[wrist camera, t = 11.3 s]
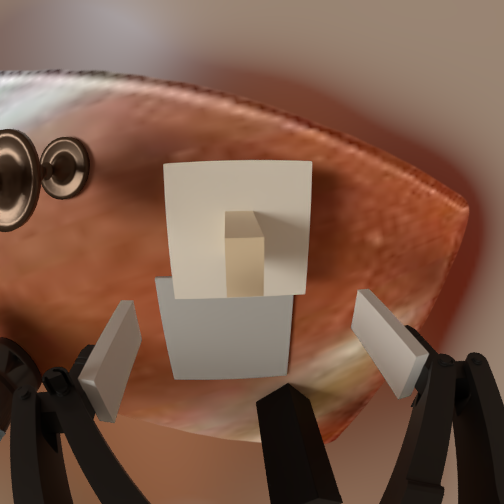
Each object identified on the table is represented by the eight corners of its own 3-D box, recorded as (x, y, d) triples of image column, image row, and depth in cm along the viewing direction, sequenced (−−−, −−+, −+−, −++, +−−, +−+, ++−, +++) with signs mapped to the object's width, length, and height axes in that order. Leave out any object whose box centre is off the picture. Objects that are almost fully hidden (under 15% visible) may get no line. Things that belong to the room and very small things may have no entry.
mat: (174, 377, 47) (174, 379, 46) (155, 276, 40) (154, 278, 39) (286, 373, 48) (286, 375, 48) (293, 272, 42) (294, 273, 41)
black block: (278, 416, 53) (303, 533, 27) (255, 401, 50) (273, 531, 24) (309, 399, 52) (348, 518, 25) (287, 381, 49) (323, 516, 23)
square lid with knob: (175, 296, 35) (160, 350, 25) (164, 163, 29) (134, 169, 19) (303, 291, 36) (330, 341, 26) (310, 161, 31) (348, 166, 20)
